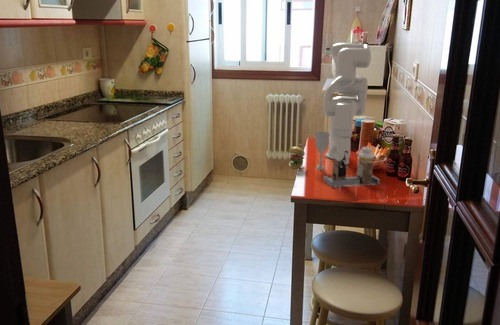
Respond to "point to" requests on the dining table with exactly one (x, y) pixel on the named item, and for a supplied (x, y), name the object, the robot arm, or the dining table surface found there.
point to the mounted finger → (365, 170)
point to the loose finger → (337, 170)
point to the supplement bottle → (366, 154)
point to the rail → (350, 181)
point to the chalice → (321, 146)
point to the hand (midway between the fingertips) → (339, 174)
